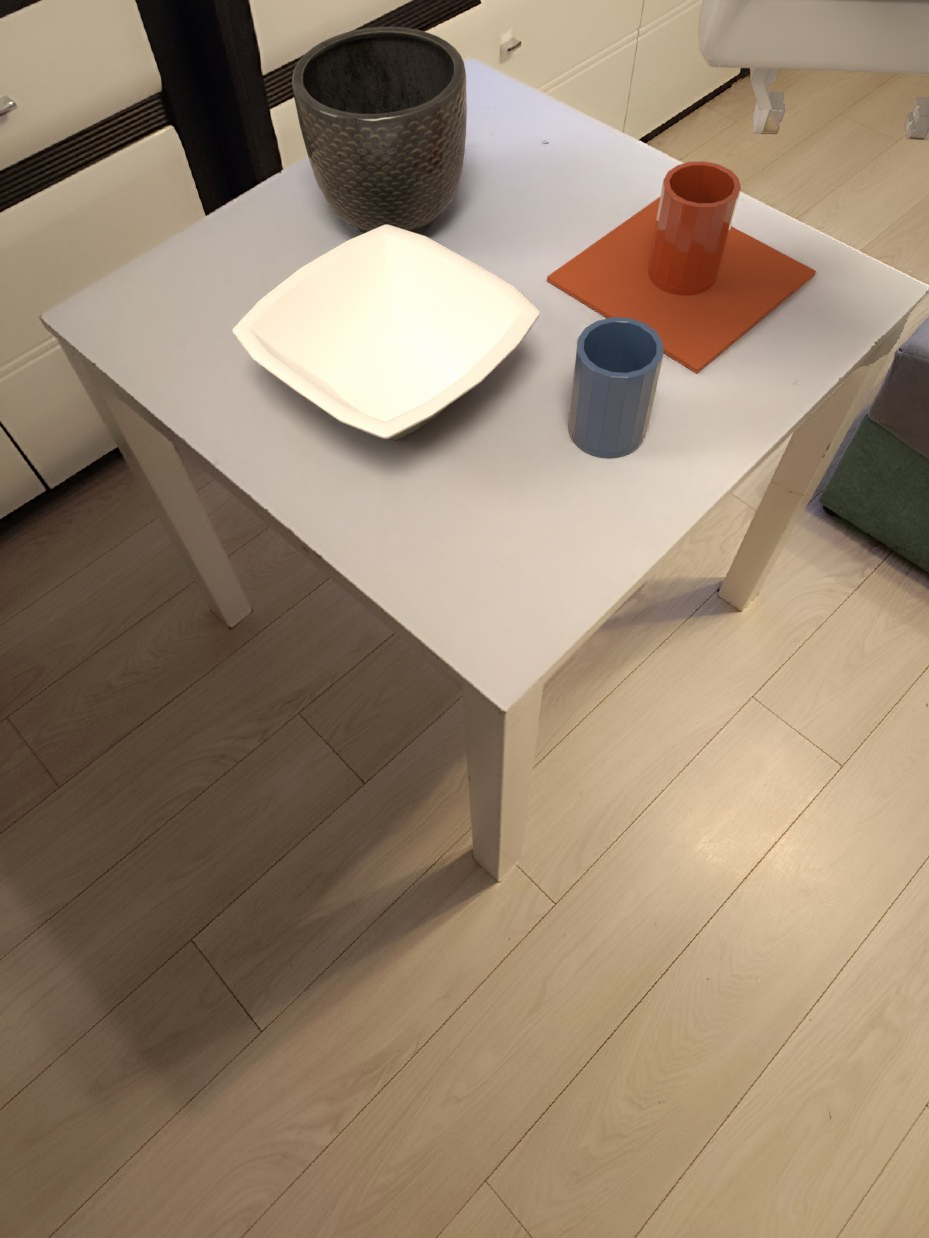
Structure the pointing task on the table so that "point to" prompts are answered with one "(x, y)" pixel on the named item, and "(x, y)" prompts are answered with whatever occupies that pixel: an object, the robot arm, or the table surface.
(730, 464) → the table surface
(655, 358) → the blue cup
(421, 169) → the planter
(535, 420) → the table surface
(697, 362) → the rust mat
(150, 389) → the table surface
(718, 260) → the rust cup
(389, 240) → the bowl
